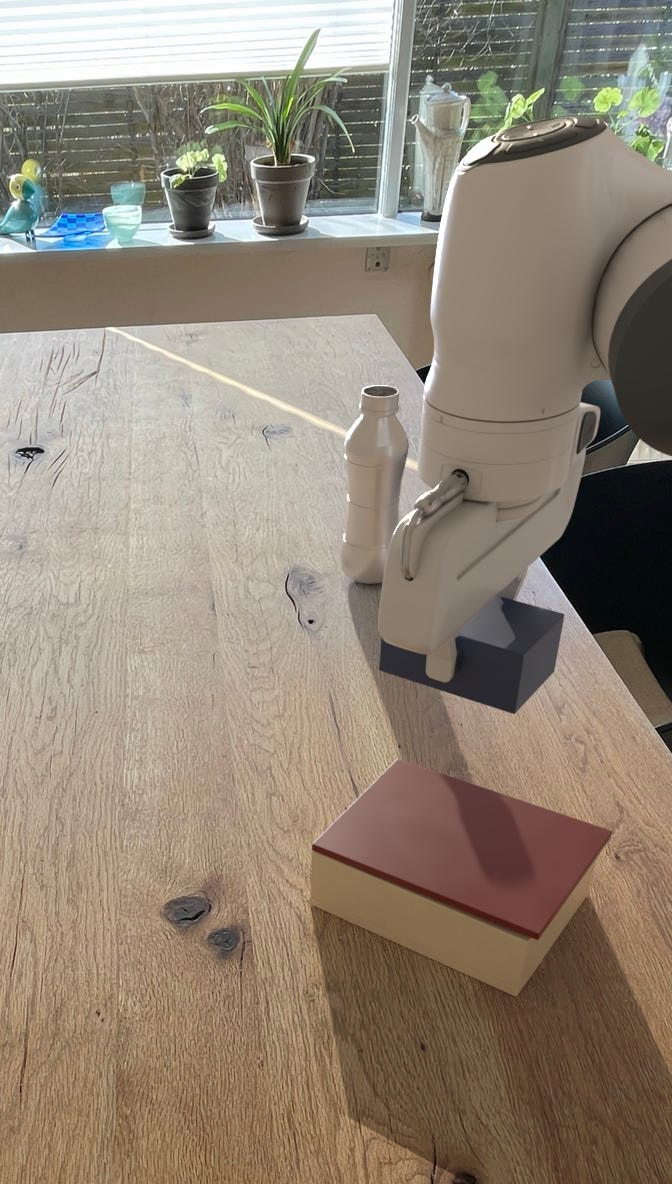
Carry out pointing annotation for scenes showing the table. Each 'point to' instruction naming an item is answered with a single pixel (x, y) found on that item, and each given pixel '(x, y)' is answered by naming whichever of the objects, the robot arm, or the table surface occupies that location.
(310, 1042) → the table surface
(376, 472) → the plastic bottle
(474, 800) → the cover
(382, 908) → the beige open box
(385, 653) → the dark grey brick
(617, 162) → the robot arm
